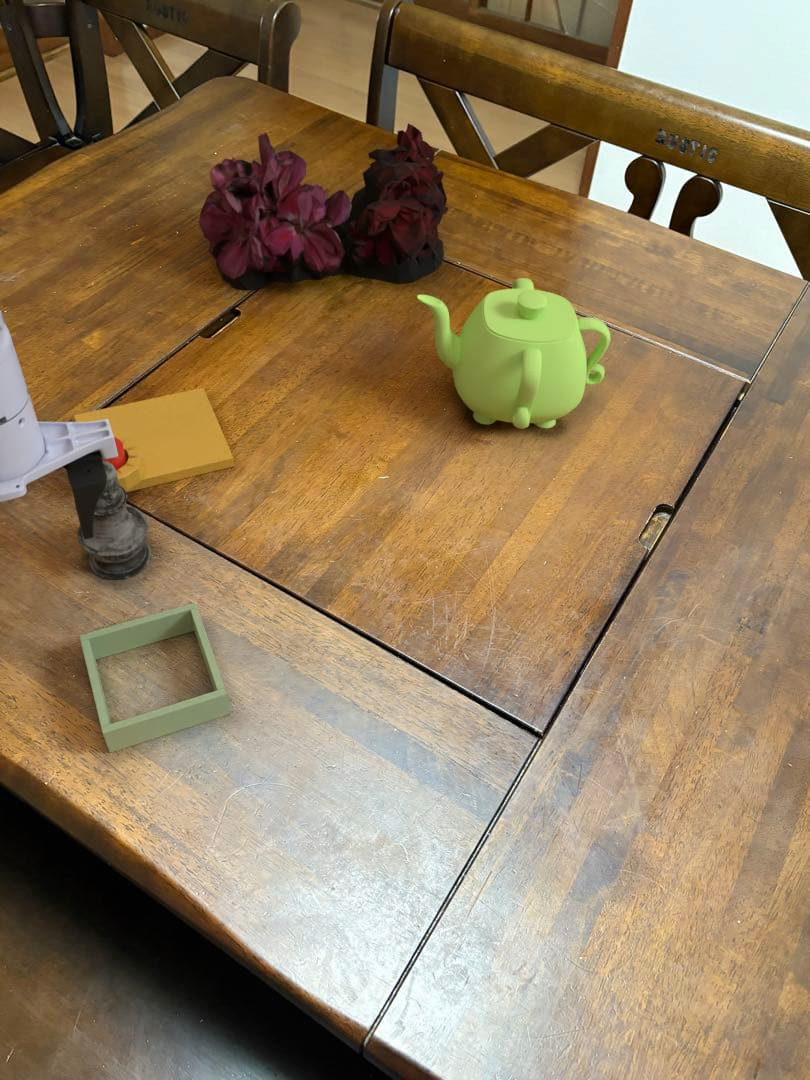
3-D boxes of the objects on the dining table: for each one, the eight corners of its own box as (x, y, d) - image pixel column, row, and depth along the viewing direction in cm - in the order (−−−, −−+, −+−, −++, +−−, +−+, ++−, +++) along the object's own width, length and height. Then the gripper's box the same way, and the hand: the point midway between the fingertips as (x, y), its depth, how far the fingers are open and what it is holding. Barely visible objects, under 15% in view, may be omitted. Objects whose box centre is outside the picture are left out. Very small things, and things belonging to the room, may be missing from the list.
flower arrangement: (413, 198, 124) (421, 84, 112) (479, 277, 112) (495, 159, 101) (186, 236, 114) (170, 116, 103) (233, 327, 103) (221, 203, 91)
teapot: (494, 471, 90) (513, 370, 81) (407, 392, 97) (415, 290, 88) (608, 411, 97) (638, 311, 88) (519, 341, 104) (538, 242, 95)
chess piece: (87, 588, 78) (55, 490, 69) (83, 537, 81) (52, 438, 72) (158, 576, 79) (135, 478, 70) (151, 526, 83) (129, 427, 74)
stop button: (95, 476, 83) (92, 462, 82) (89, 454, 85) (85, 440, 83) (129, 468, 84) (125, 454, 82) (122, 446, 86) (119, 433, 84)
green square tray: (109, 753, 68) (102, 733, 66) (86, 656, 73) (78, 634, 71) (230, 714, 71) (227, 693, 68) (199, 623, 76) (195, 601, 74)
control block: (88, 510, 84) (81, 487, 81) (65, 426, 91) (58, 403, 88) (237, 473, 88) (235, 451, 85) (204, 396, 95) (201, 373, 93)
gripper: (-144, 471, 53) (-67, 611, 63) (111, 415, 57) (144, 555, 67) (-149, 395, 57) (-76, 538, 67) (89, 349, 61) (123, 490, 71)
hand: (33, 542), depth 67 cm, fingers open, 7 cm apart
